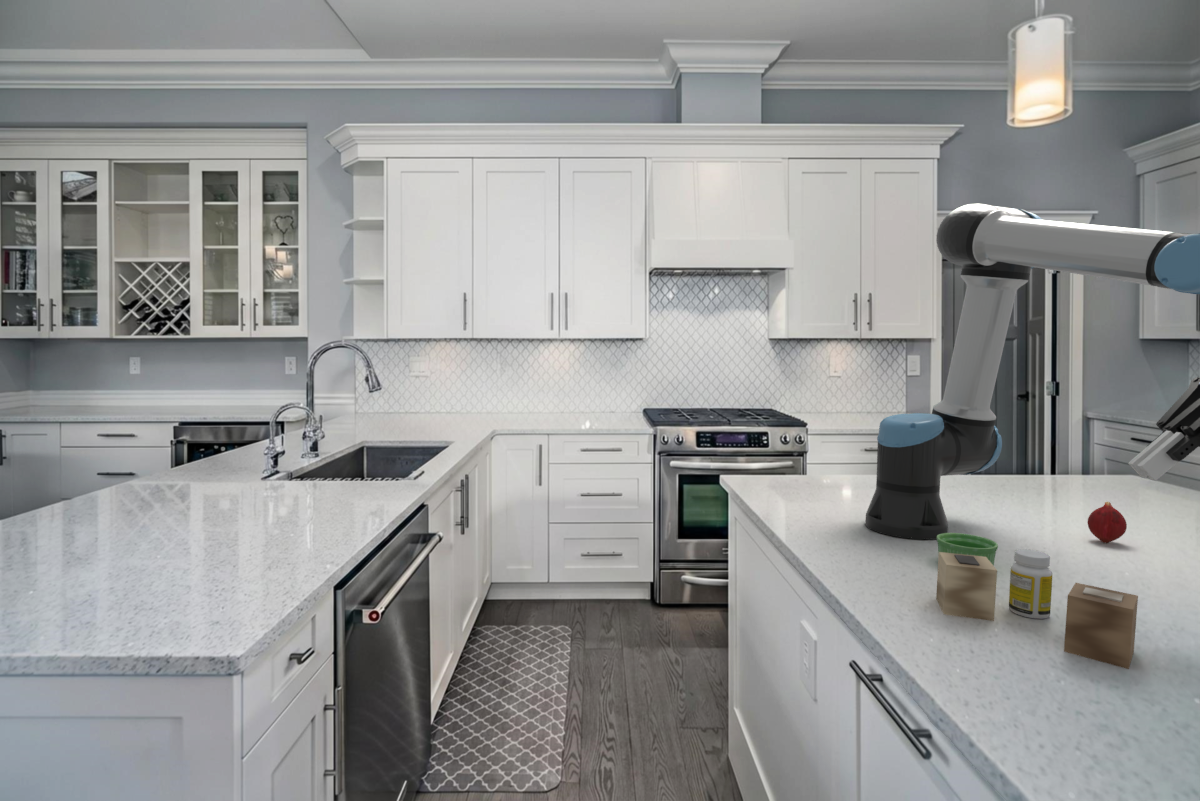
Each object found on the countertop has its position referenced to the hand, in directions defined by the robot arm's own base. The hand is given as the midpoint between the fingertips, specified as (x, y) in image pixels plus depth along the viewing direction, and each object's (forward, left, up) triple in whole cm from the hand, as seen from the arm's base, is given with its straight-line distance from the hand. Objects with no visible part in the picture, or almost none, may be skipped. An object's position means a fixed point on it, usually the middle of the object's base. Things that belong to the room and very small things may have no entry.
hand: (1141, 471), depth 84 cm
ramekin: (-20, +11, -20) cm, 31 cm away
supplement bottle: (-11, -7, -20) cm, 24 cm away
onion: (+1, +42, -20) cm, 47 cm away
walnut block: (-4, -16, -20) cm, 26 cm away
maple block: (-19, -11, -20) cm, 30 cm away
